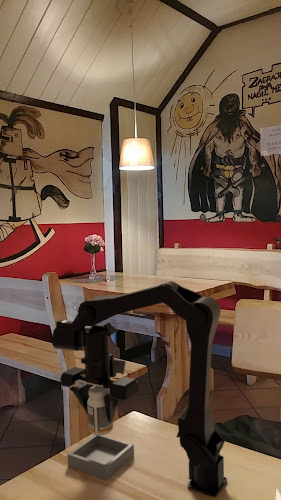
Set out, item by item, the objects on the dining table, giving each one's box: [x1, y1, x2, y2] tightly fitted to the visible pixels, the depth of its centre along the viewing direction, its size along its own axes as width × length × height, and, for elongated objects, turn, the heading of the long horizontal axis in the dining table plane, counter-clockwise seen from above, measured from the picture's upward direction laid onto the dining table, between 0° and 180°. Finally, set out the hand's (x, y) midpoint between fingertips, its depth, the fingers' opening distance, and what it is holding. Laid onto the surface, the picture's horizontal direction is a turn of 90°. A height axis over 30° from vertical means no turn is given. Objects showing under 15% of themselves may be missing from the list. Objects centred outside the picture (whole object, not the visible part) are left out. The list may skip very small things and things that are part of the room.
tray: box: [67, 434, 135, 482], centre depth 105 cm, size 11×11×3 cm
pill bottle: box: [87, 385, 114, 436], centre depth 103 cm, size 6×6×10 cm
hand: (100, 417), depth 104 cm, fingers closed on pill bottle, 6 cm apart
